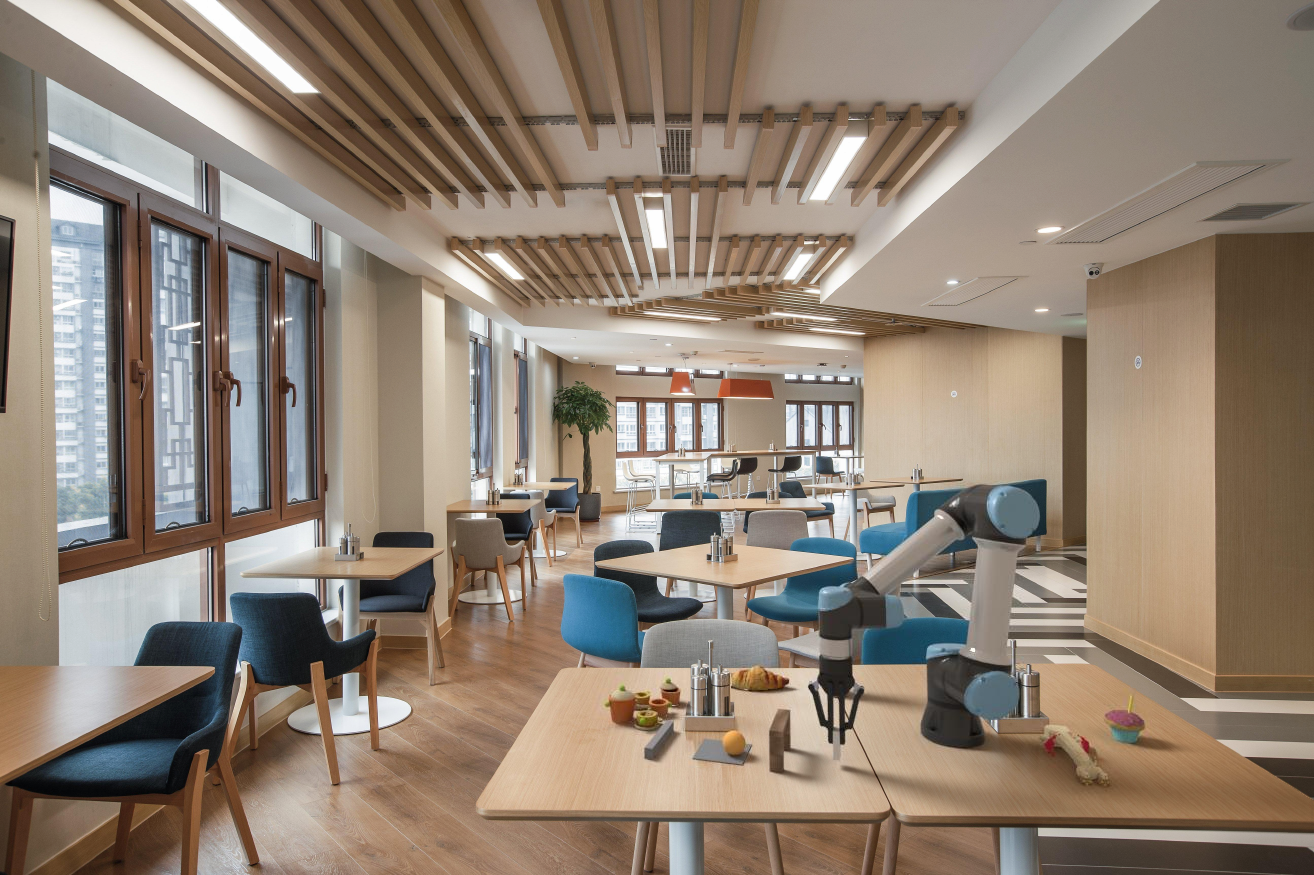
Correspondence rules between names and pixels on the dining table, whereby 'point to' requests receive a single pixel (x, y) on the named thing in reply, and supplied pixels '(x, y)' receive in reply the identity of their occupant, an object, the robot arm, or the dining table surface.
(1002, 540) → the robot arm
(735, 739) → the ball
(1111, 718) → the cupcake
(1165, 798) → the dining table surface
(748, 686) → the croissant
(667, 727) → the stopper
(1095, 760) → the bone
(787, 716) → the bridge
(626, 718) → the toy tea set
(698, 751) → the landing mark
